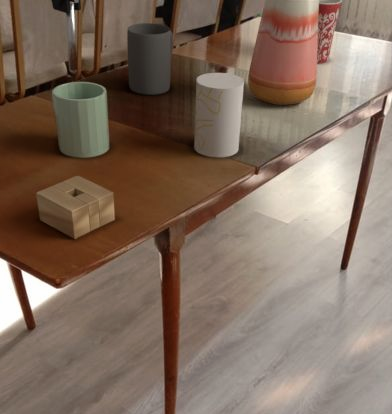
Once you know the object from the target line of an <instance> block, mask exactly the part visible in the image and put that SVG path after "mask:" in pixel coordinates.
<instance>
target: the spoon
mask: <svg viewBox="0 0 392 414" xmlns="http://www.w3.org/2000/svg"><path fill="white" fill-rule="evenodd" d="M78 2H79V0H70V8H71V10H70V12H68V13H65V20H66V39H67V54H68V70H69V72H70V73H71V74H76V73H77V72H78V55H77V54H78V53H77V50H78V49H77V33H76V32H77V31H76V10H75V9H74V3H78Z"/></svg>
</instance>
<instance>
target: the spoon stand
mask: <svg viewBox="0 0 392 414" xmlns="http://www.w3.org/2000/svg"><path fill="white" fill-rule="evenodd" d="M35 194H36V201H37V208H38V215H39V220H40V221H41V222H42V223H44V224H47V225H49V227H52V228H54V229H56V230H57V231H59V232H61V233H63V234H65V235H66V236H68V237H70V238H72V239H73V240H77V239H78V238H81V237H83V236H85V235H86V234H89V233H90V232H93V231H94V230H97V229H99V228H101V227H103V226H105V225H108V224H109V223H111V222H114V221H115V220H116V214H115V197H114V192H113V191H111V190H109V189H107V188H105V187H103V186H101V185H99V184H96V183H94V182H93V181H90V180H89V179H86V178H84V177H82V176H80V175H75V176H73V177H70V178H68V179H65V180H63V181H61V182H58V183H56V184H54V185H51V186H49V187H46V188H44V189H41V190H39V191H37V192H35Z"/></svg>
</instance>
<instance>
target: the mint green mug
mask: <svg viewBox="0 0 392 414" xmlns="http://www.w3.org/2000/svg"><path fill="white" fill-rule="evenodd" d="M51 97H52V106H53V107H52V108H53V115H54V124H55V125H56V133H57V134H56V135H57V141H58V149H59V151H60V153H62V154H63V155H65V156H68V157H71V158H78V159H79V158H81V159H86V158H87V159H89V158H94V157H99V156H101V155H104V154H105V153H107V152H108V151H109V150H110V128H109V110H108V109H109V108H108V93H107V88H106V87H104V86H103V85H101V84H98V83H95V82H89V81H72V82H66V83H63V84H59V85H57V86H56V87H54V88H53V89H52V90H51Z"/></svg>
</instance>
